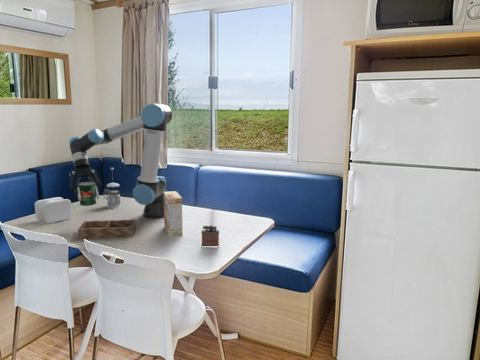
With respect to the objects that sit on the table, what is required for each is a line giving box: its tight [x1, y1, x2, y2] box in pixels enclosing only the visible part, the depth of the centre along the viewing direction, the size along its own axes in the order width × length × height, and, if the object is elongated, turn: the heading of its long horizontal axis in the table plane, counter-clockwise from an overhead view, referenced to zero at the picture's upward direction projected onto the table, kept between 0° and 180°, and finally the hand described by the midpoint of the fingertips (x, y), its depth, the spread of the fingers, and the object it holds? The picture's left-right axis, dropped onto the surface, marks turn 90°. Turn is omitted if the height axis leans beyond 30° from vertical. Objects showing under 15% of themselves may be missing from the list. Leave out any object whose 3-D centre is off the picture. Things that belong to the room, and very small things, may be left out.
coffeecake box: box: [163, 190, 183, 237], centre depth 182 cm, size 15×7×20 cm, turn 21°
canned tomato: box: [78, 181, 97, 207], centre depth 185 cm, size 8×8×11 cm
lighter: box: [201, 224, 220, 247], centre depth 164 cm, size 8×3×10 cm, turn 92°
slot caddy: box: [77, 219, 137, 239], centre depth 179 cm, size 25×13×4 cm, turn 100°
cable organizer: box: [34, 196, 73, 224], centre depth 197 cm, size 15×11×12 cm
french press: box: [103, 167, 123, 209], centre depth 224 cm, size 10×12×25 cm
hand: (89, 198), depth 182 cm, fingers closed on canned tomato, 8 cm apart
